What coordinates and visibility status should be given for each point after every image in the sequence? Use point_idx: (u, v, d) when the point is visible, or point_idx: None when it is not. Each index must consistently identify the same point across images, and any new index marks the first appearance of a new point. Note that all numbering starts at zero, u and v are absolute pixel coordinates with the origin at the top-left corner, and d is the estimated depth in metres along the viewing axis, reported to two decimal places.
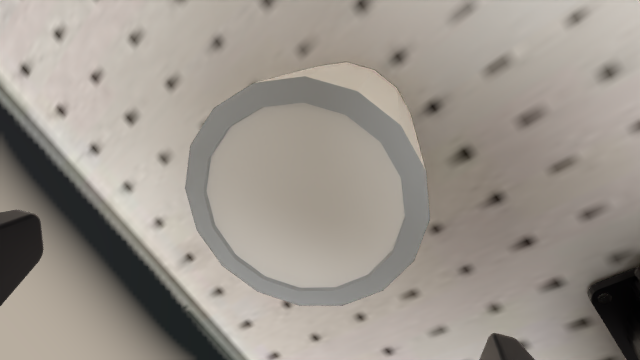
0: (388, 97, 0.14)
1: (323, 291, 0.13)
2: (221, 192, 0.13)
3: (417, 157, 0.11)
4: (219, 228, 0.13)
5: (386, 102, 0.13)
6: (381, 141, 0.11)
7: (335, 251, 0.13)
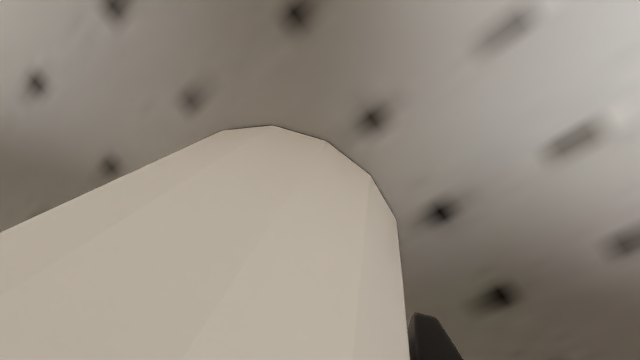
0: (333, 264, 0.05)
1: None
2: None
3: None
4: None
5: (313, 324, 0.04)
6: None
7: None
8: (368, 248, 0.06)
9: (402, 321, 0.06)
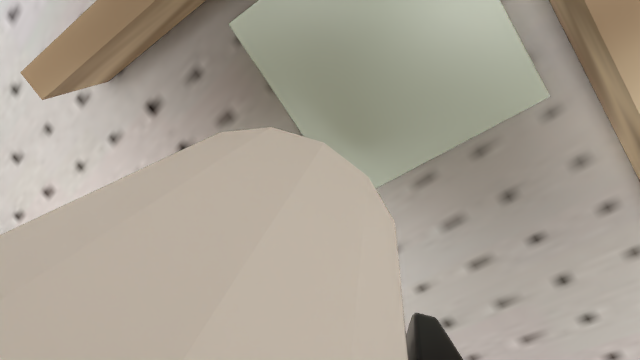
0: (331, 267, 0.05)
1: None
2: None
3: None
4: None
5: (311, 327, 0.04)
6: None
7: None
8: (366, 250, 0.06)
9: (400, 323, 0.06)
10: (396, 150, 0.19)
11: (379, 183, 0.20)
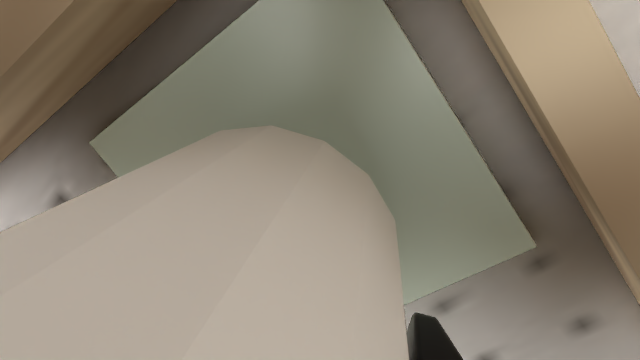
0: (332, 264, 0.05)
1: None
2: None
3: None
4: None
5: (312, 324, 0.04)
6: None
7: None
8: (367, 248, 0.06)
9: (401, 321, 0.06)
10: None
11: None
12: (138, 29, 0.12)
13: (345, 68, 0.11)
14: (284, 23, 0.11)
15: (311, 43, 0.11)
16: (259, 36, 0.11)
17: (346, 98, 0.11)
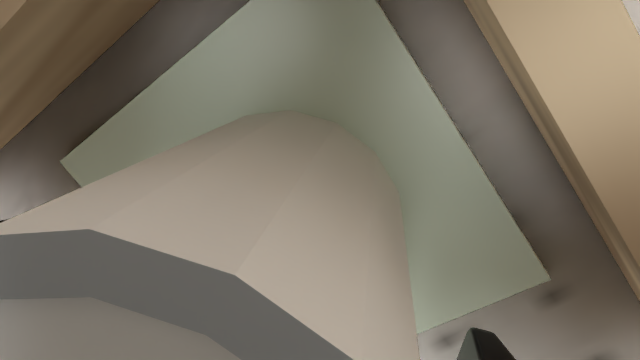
0: (349, 210, 0.07)
1: None
2: None
3: None
4: None
5: (337, 245, 0.06)
6: None
7: None
8: (376, 204, 0.08)
9: (405, 263, 0.08)
10: None
11: None
12: (109, 39, 0.11)
13: (338, 83, 0.10)
14: (270, 33, 0.10)
15: (300, 55, 0.10)
16: (242, 47, 0.10)
17: (339, 115, 0.10)
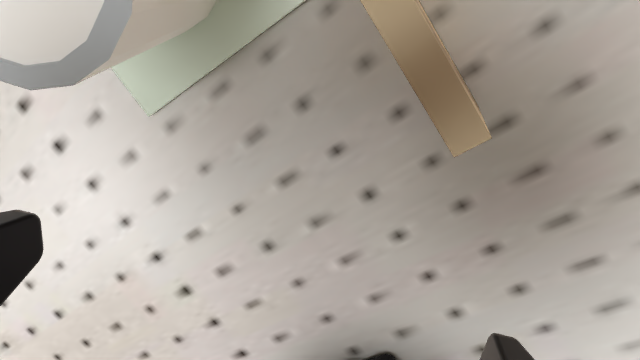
0: None
1: (46, 64, 0.12)
2: None
3: None
4: None
5: None
6: None
7: (49, 9, 0.11)
8: None
9: None
10: (183, 56, 0.18)
11: (174, 93, 0.19)
12: None
13: None
14: None
15: None
16: None
17: None
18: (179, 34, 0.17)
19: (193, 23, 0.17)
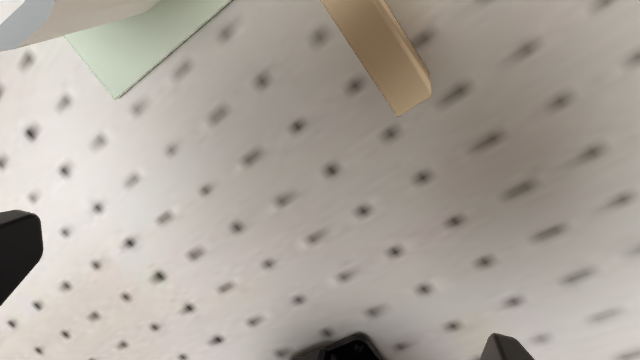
0: None
1: None
2: None
3: None
4: None
5: None
6: None
7: None
8: None
9: None
10: (144, 37, 0.19)
11: (137, 75, 0.19)
12: None
13: None
14: None
15: None
16: None
17: None
18: (138, 14, 0.18)
19: (149, 1, 0.17)
